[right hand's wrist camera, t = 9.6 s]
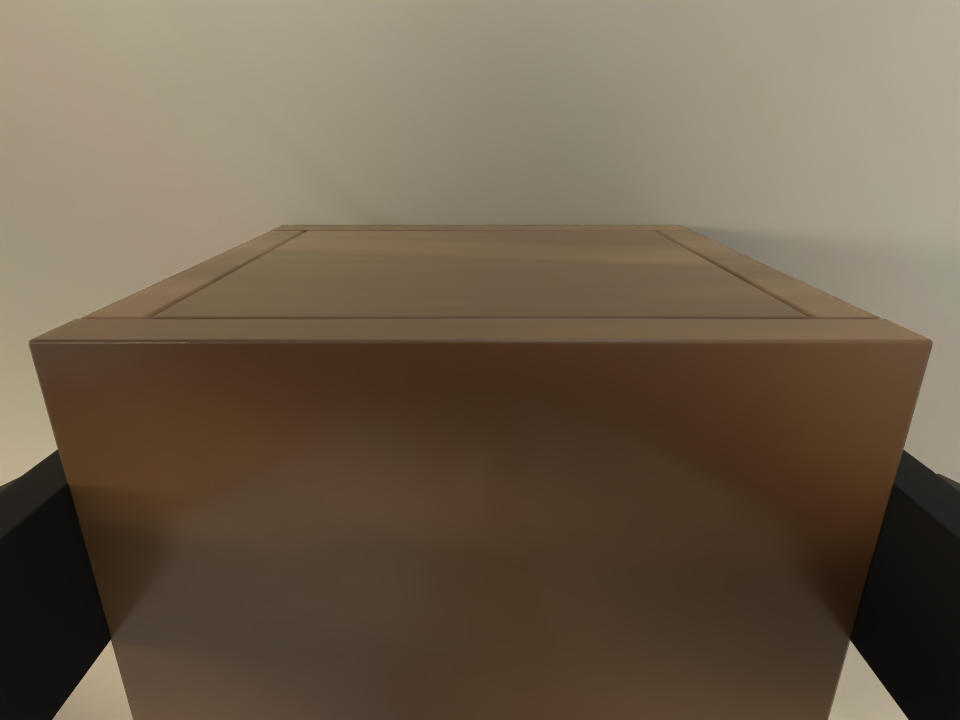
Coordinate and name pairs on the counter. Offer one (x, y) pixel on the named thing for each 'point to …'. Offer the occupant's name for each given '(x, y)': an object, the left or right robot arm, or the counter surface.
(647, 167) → the counter surface
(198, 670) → the cabinet
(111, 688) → the counter surface
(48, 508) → the right robot arm
